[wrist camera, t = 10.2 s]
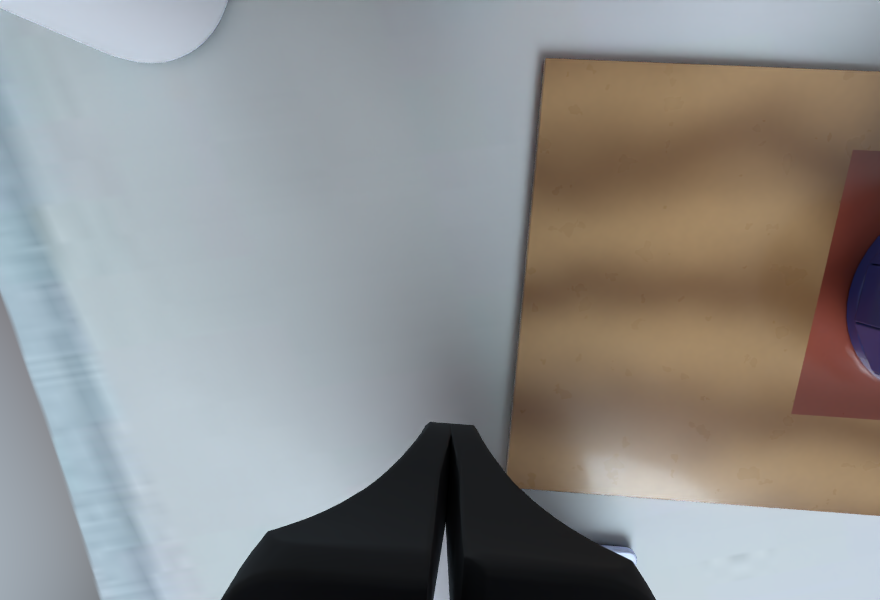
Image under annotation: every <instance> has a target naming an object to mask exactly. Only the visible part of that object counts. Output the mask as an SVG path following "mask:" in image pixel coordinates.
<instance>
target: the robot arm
mask: <svg viewBox="0 0 880 600" xmlns="http://www.w3.org/2000/svg"><path fill="white" fill-rule="evenodd" d="M445 523H446V538H447V557H448V575H449V594H450V600H656V599H655V597H654V595H653V594H652V592H651V590H650V588H649V587H648V585H647V583H646V582H645V580H644V578H643V577H642V575H641V574H640V572H639V571H638V569H637V568H636V562H637V557H636V555H635V553H634V551H633V550H632V549H631V548H628V547H620V546H607V545H599V544H597V543H595V542H593V541H591V540H589V539H588V538H586V537H584V536H583V535H581V534H579V533H577V532H576V531H574V530H572V529H571V528H569V527H568V526H566V525H565V524H563V523H562V522H560V521H559V520H557V519H556V518H555V517H553V516H552V515H551V514H549V513H548V512H547V511H545V510H544V509H543V508H541V507H540V506H539V505H538V504H536V503H535V502H534V501H533V500H532V499H531V498H530V497H529V496H527V495H526V494H525V493H524V492H523V491H522V490H521V489H520V488H519V487H518V486H517V485H516V484H515V483H514V482H513V481H512V480H511V478H510V477H509V476H508V475H507V474H506V473H505V471H504V470H503V469H502V468H501V466H500V465H499V464H498V462H497V461H496V459H495V458H494V457H493V455H492V454H491V452H490V451H489V449H488V448H487V446H486V445H485V443H484V442H483V440H482V438H481V436H480V435H479V433H478V431H477V429H476V428H475V426H474V425H464V424H450V423H436V422H429V423H428V424H427V425H426V426H425V428H424V429H423V431H422V432H421V434H420V435H419V437H418V438H417V439H416V441H415V442H414V443H413V444H412V445H411V447H410V448H409V449H408V450H407V451H406V452H405V454H404V455H403V456H402V457H401V458H400V459H399V460H398V461H397V462H396V463H395V464H394V465H393V466H392V467H391V468H390V469H389V470H388V471H387V472H385V473H384V474H383V475H382V476H381V477H380V478H378V479H377V480H376V481H375V482H373V483H372V484H371V485H369V486H368V487H367V488H365V489H364V490H362V491H360V492H359V493H357V494H355V495H354V496H352V497H350V498H349V499H347V500H345V501H344V502H342V503H340V504H338V505H336V506H334V507H332V508H330V509H328V510H326V511H323V512H321V513H319V514H317V515H314V516H312V517H309V518H307V519H304V520H301V521H299V522H296V523H293V524H290V525H287V526H284V527H281V528H278V529H275V530H271V531H268V532H267V533H266V534H265V536H264V537H263V538H262V540H261V541H260V542H259V543H258V545H257V546H256V547H255V548H254V550H253V551H252V552H251V554H250V555H249V556H248V558H247V559H246V561H245V562H244V563H243V565H242V566H241V568H240V569H239V571H238V573H237V574H236V576H235V578H234V579H233V581H232V582H231V584H230V586H229V587H228V589H227V591H226V592H225V594H224V595H223V597H222V599H221V600H433V598H434V592H435V585H436V579H437V573H438V567H439V561H440V555H441V548H442V542H443V536H444V530H445Z"/></svg>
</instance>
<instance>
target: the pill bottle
mask: <svg viewBox="0 0 880 600" xmlns="http://www.w3.org/2000/svg"><path fill="white" fill-rule="evenodd" d="M227 2H228V0H0V8H1V9H3V10H5V11H8V12H10V13H12V14H15V15H17V16H19V17H22V18H24V19H26V20H29V21H31V22H34V23H36V24H38V25H41V26H43V27H45V28H48V29H50V30H52V31H55V32H57V33H59V34H62V35H64V36H66V37H69V38H71V39H73V40H76V41H78V42H80V43H83V44H85V45H88V46H90V47H92V48H95V49H97V50H99V51H102V52H104V53H106V54H109V55H112V56H115V57H119V58H122V59H125V60H129V61H134V62H140V63H162V62H168V61H172V60H175V59H178V58H181V57H183V56H185V55H187V54H189V53H191V52H192V51H194V50H195V49H197V48H198V47H199V46H200V45H202V44H203V43H204V42H205V41H206V40H207V39H208V38H209V36H210V35H211V34H212V33H213V31H214V30H215V28H216V27H217V25H218V24H219V22H220V20H221V18H222V16H223V14H224V11H225V9H226V6H227Z"/></svg>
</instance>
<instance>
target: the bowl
mask: <svg viewBox="0 0 880 600" xmlns="http://www.w3.org/2000/svg"><path fill="white" fill-rule="evenodd" d="M846 320H847V328H848V333H849V337H850V340H851V344H852V346H853V348H854V350H855V352H856V355H857V356H858V358H859V359H860V361H861V362H862V364H863V365H864V366H865V367H866V368H867V369H868V370H869V371H870V373H871V374H872V375H874V376H875V377H876V378H877V379H879V380H880V235H879V236H878V237H877V238H876V239H875V241H874V242H873V243H872V245H871V246H870V247H869V248H868V250H867V251H866V253H865V255H864V256H863V258H862V260H861V261H860V263H859V265H858V267H857V270H856V272H855V274H854V276H853V279H852V282H851V286H850V289H849V294H848V299H847V310H846Z"/></svg>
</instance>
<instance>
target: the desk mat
mask: <svg viewBox="0 0 880 600" xmlns="http://www.w3.org/2000/svg"><path fill="white" fill-rule="evenodd" d="M879 235H880V71H856V70H832V69H807V68H782V67H758V66H733V65H708V64H683V63H659V62H634V61H609V60H584V59H560V58H546V59H545V60H544V66H543V77H542V87H541V98H540V109H539V120H538V131H537V142H536V152H535V163H534V174H533V185H532V196H531V206H530V217H529V228H528V239H527V250H526V261H525V271H524V282H523V293H522V304H521V315H520V326H519V336H518V347H517V358H516V369H515V380H514V391H513V401H512V412H511V423H510V434H509V445H508V456H507V466H506V474H507V475H508V476H509V477H510V478H511V480H512V481H513V482H514V483H515V484H516V485H517V486H518V487H519V488H520V489H533V490H546V491H560V492H573V493H586V494H599V495H612V496H625V497H639V498H652V499H665V500H678V501H691V502H704V503H718V504H731V505H744V506H757V507H770V508H783V509H797V510H810V511H823V512H836V513H849V514H862V515H876V516H880V380H879V379H877V378H876V377H875V376H874V375H872V374H871V373H870V371H869V370H868V369H867V368H866V367H865V366H864V365H863V364H862V362H861V361H860V359H859V358H858V356H857V355H856V352H855V350H854V348H853V346H852V344H851V340H850V337H849V333H848V328H847V320H846V310H847V299H848V294H849V289H850V286H851V282H852V279H853V276H854V274H855V272H856V270H857V267H858V265H859V263H860V261H861V260H862V258H863V256H864V255H865V253H866V251H867V250H868V248H869V247H870V246H871V245H872V243H873V242H874V241H875V239H876V238H877V237H878V236H879Z"/></svg>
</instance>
